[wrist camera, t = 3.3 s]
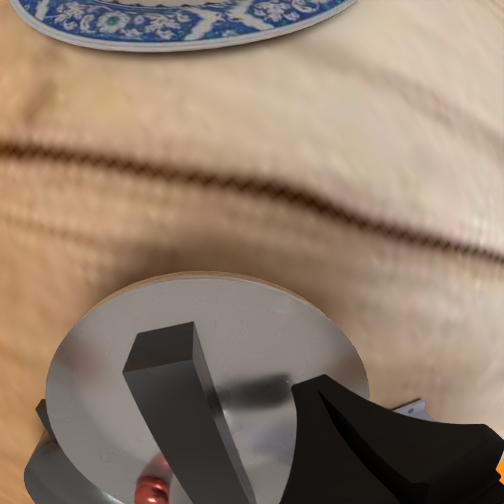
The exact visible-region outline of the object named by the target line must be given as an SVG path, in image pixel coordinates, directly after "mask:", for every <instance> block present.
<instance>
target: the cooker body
mask: <svg viewBox="0 0 504 504" xmlns="http://www.w3.org/2000/svg"><path fill="white" fill-rule="evenodd" d="M36 411H37V413H38V415H39V417H40V419H41V421H42V423H43V425H44V426H45V428H46V429H45V431H44V433H43V435H42V436H41V438H40V440H39V442H38V444H37V446H36V448H35V450H34V452H33V454H32V456H31V458H30V460H29V462H28V464H27V466H26V468H25V471H24V482H25V486H26V489H27V491H28V493H29V495H30V496H31V498H32V500H33V501H34V502H35V504H124V503H122V502H120V501H118V500H117V499H115V498H113V497H112V496H110V495H108V494H107V493H105V492H104V491H102V490H101V489H99V488H98V487H97V486H95V485H94V484H93V483H92V482H90V481H89V480H88V479H87V478H86V477H85V476H84V475H83V474H82V473H81V472H80V471H79V470H78V469H77V468H76V467H75V466H74V465H73V463H72V462H71V461H70V460H69V458H68V457H67V456H66V454H65V453H64V451H63V450H62V448H61V446H60V445H59V443H58V441H57V439H56V437H55V434H54V432H53V430H52V428H51V424H50V421H49V417H48V413H47V406H46V399H42V400H41V401H40V403H39V404H38V406H37V407H36Z"/></svg>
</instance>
